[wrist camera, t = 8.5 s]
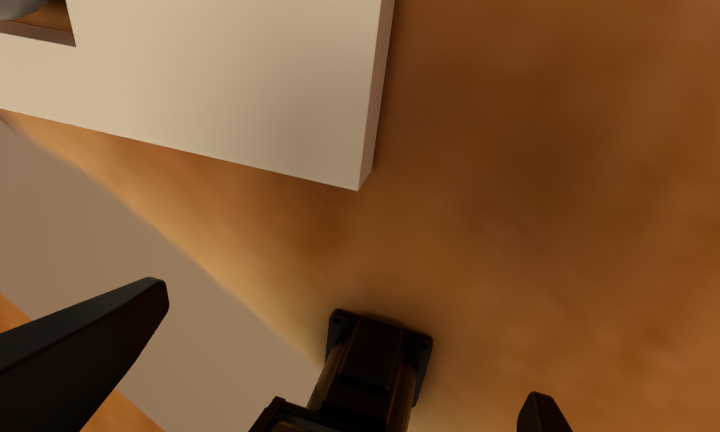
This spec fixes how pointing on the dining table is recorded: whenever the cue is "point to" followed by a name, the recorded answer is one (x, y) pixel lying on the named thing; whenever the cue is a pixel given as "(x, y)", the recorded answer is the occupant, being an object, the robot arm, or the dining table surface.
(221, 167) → the dining table surface
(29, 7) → the ball
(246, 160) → the deck
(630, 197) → the dining table surface
